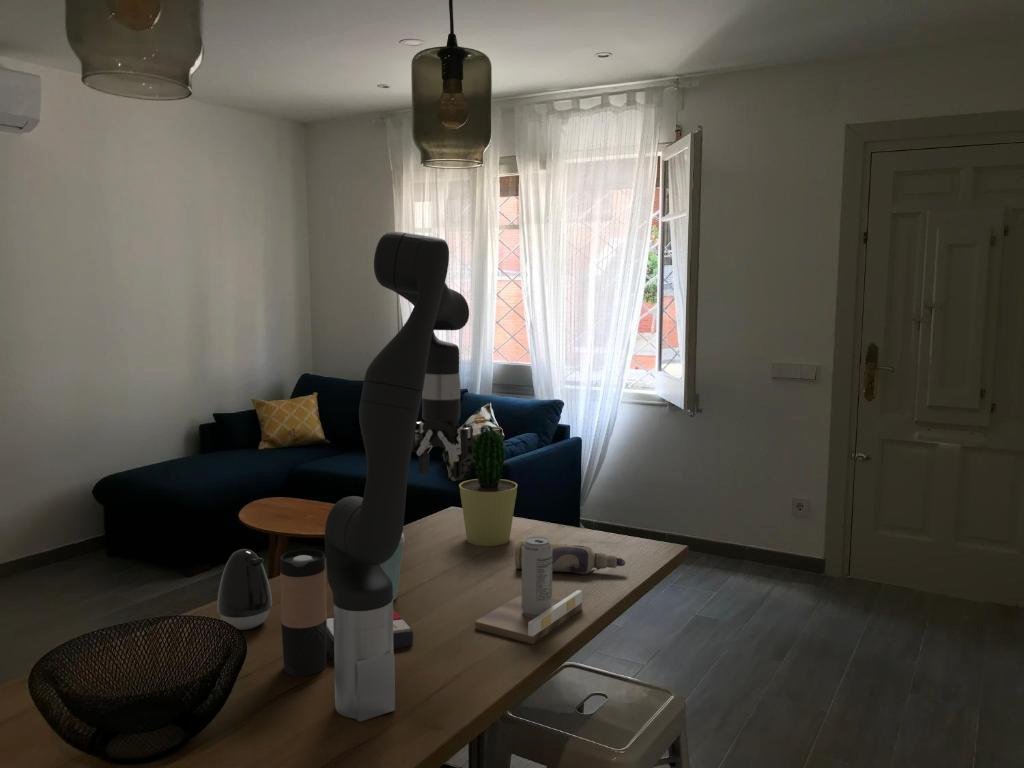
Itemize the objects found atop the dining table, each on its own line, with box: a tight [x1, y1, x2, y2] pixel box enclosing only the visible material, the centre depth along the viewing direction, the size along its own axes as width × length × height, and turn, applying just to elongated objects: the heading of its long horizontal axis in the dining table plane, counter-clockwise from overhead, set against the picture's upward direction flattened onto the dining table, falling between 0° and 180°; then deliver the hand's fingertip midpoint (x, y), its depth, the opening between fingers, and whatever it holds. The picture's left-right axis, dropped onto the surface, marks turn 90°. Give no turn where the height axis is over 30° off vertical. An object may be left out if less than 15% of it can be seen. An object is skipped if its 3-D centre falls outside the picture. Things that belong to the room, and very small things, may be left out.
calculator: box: [326, 609, 414, 661], centre depth 153 cm, size 11×4×15 cm
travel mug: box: [279, 548, 328, 677], centre depth 141 cm, size 8×8×20 cm
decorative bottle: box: [514, 540, 626, 575], centre depth 192 cm, size 26×8×7 cm, turn 80°
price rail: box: [528, 589, 583, 637], centre depth 160 cm, size 20×1×2 cm, turn 148°
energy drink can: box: [521, 536, 553, 618], centre depth 162 cm, size 6×6×15 cm
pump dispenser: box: [216, 548, 273, 631], centre depth 159 cm, size 10×10×15 cm
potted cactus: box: [458, 427, 518, 547], centre depth 215 cm, size 15×15×30 cm
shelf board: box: [474, 593, 583, 645], centre depth 164 cm, size 20×13×2 cm, turn 148°
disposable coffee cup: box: [380, 532, 405, 601], centre depth 174 cm, size 11×11×15 cm
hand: (441, 476), depth 163 cm, fingers open, 8 cm apart
